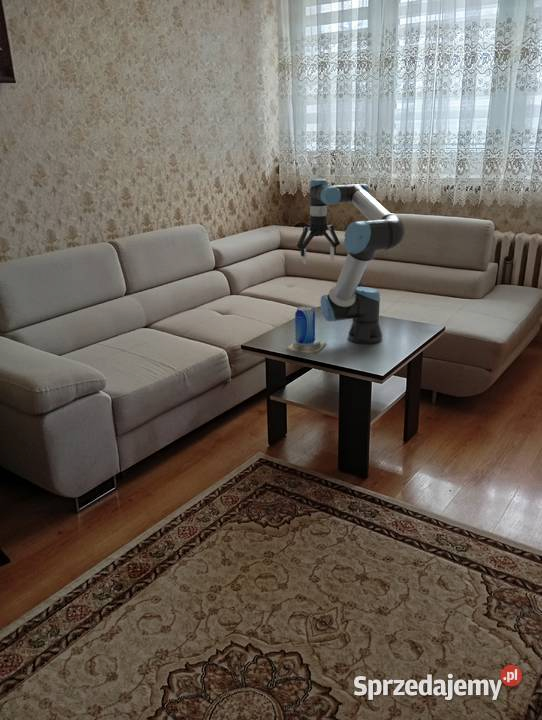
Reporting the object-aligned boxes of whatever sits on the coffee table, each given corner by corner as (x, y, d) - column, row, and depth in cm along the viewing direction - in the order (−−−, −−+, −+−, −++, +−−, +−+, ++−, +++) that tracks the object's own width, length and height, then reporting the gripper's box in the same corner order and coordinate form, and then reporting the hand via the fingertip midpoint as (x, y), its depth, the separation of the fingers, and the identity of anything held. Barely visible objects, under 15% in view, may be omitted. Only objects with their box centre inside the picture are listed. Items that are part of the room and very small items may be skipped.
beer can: (318, 344, 263) (318, 309, 257) (301, 348, 260) (301, 312, 254) (308, 339, 270) (308, 304, 264) (292, 342, 267) (291, 307, 261)
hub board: (326, 344, 269) (326, 340, 268) (317, 353, 259) (317, 349, 258) (296, 341, 274) (296, 336, 274) (286, 350, 264) (286, 345, 263)
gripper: (340, 212, 279) (340, 258, 287) (289, 215, 272) (290, 262, 280) (347, 214, 272) (346, 261, 280) (294, 218, 266) (295, 266, 273)
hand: (318, 262), depth 280 cm, fingers open, 13 cm apart
